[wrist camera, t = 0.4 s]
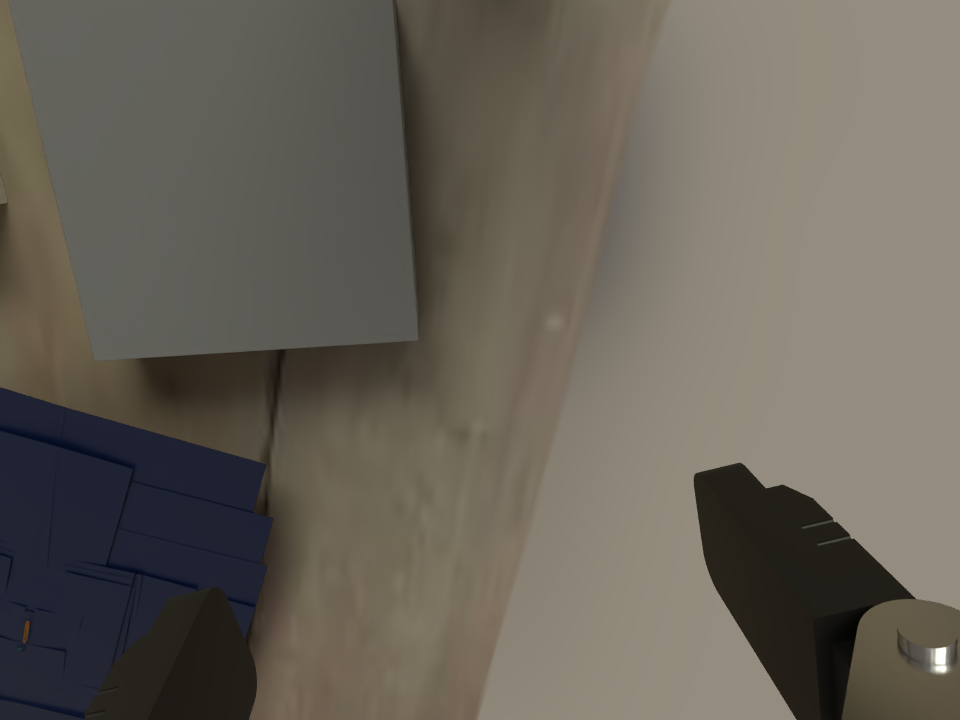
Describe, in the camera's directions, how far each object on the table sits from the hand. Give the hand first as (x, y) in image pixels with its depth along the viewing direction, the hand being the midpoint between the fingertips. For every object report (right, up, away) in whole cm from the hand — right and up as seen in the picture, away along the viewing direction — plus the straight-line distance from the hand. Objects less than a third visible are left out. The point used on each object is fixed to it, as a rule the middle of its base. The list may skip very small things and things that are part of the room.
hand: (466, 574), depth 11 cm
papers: (-26, -11, +31) cm, 42 cm away
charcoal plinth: (-11, +13, +24) cm, 30 cm away
